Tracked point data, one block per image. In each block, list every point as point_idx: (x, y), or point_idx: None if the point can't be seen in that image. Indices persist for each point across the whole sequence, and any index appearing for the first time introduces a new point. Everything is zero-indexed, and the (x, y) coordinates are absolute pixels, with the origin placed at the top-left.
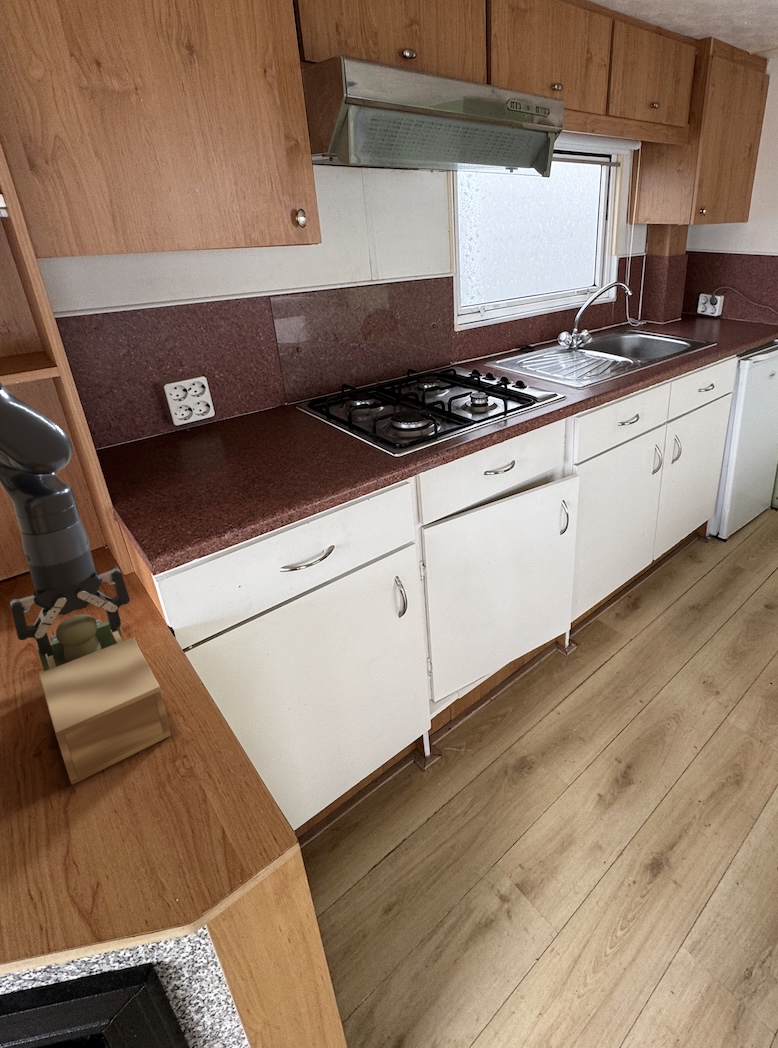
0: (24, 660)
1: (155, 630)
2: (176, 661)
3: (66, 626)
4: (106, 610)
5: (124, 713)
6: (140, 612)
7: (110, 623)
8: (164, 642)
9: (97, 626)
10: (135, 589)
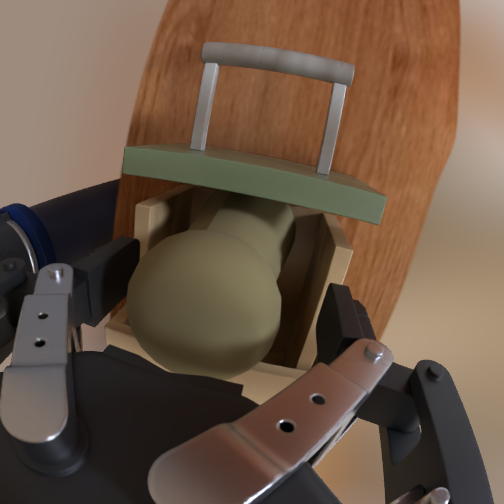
0: (189, 4)
1: (439, 134)
2: (399, 287)
3: (151, 346)
4: (333, 356)
5: None
6: (442, 35)
7: (318, 348)
8: (427, 200)
9: (313, 194)
10: None
